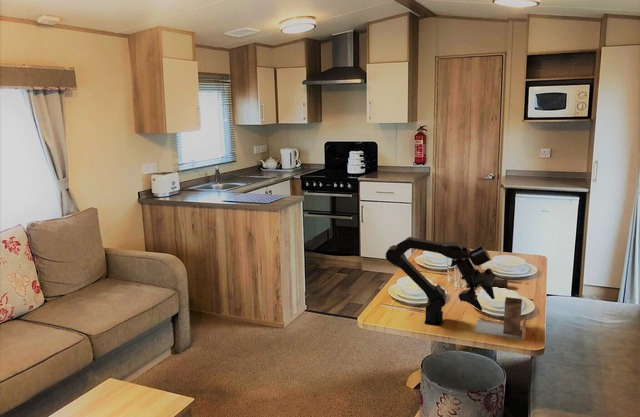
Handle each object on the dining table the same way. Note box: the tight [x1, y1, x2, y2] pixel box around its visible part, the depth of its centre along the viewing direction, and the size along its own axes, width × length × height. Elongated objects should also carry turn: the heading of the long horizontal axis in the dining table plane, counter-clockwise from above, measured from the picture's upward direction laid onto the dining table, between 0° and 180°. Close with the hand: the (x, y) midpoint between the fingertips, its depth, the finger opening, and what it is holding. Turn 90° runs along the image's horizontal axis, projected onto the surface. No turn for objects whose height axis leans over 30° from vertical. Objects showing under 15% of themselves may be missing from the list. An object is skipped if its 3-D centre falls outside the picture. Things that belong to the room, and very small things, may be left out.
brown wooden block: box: [503, 296, 523, 336], centre depth 202 cm, size 6×6×13 cm
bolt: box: [492, 276, 509, 289], centre depth 253 cm, size 6×5×15 cm
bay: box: [473, 318, 527, 341], centre depth 205 cm, size 19×12×4 cm, turn 67°
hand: (487, 304), depth 205 cm, fingers open, 9 cm apart
